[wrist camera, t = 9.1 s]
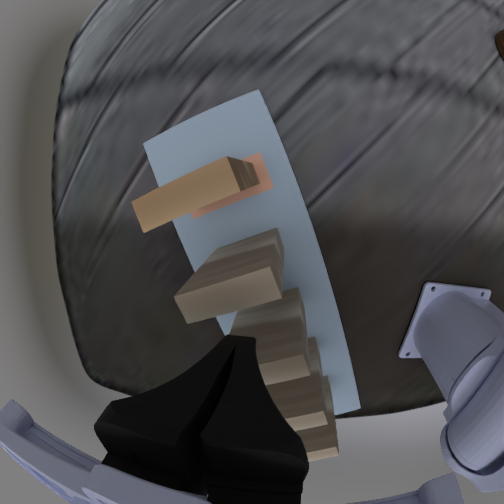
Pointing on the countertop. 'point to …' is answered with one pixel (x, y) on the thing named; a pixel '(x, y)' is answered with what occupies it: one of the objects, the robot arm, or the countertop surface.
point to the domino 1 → (194, 191)
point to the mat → (257, 218)
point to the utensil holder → (500, 42)
